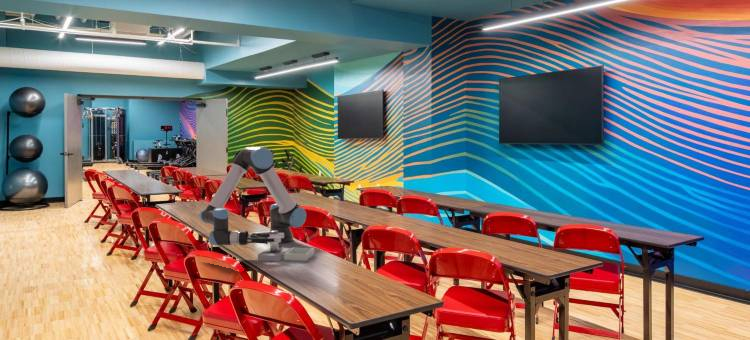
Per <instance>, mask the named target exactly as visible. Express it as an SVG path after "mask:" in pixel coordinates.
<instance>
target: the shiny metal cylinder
mask: <svg viewBox="0 0 750 340" xmlns="http://www.w3.org/2000/svg"><path fill="white" fill-rule="evenodd" d="M269 232H270V237H278V230H272V231H270V230H269ZM279 244H280V243H278V242H270V243H269V248H270V253H279V246H280V245H279Z"/></svg>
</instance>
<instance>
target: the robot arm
mask: <svg viewBox="0 0 750 340" xmlns="http://www.w3.org/2000/svg"><path fill="white" fill-rule="evenodd" d="M230 165H231V167H230V169H229V171H228V173H226V176H225V178H224V179H223V181H222V182H221V184H220V185H219V187H218V189H217V190H216V192H215V194H214V195H213V197H212V198H211V200H210V202H209V204H208V205H207V206H206V208H204V209H201V211H200V212H199V215H198V216H199V220H200V221H201V222H202V223H204V224H209V225H213V230H212V231H210V232H209V236H208V240H209V241H208V242H209V244H210V245H212V246H218V247H219V246H234V247H236V246H247V245H249V244H265V245H268V244H270V242H278V244H284V243H290V242H293V241H294V236H293V233H292V229H291V228H300V227H302V226H303V225H304V224H305V222H306V219H307V212H306V210H305V209H304V208H302V207H300V206H299V205H298V203H297V201H296V200H294V199H293V200H292V197H291V196H290V194H289V192H288V190H287V189H286V188H285V185H284V184H283V182H282V180H281V179H280V176H279V175H278V173H277V171H276V169H275V168H274V166H275V163H274V155H273V153H272V150H270V149H269V148H267V147H264V146H245V147H244V148H243V149H241V150H240V151H239V152H238V154H237V155H235V158H233V161H232V162H231V164H230ZM250 169H252V170H253V172H254V173H255V175H257V176H259V177H260V178H261V180H262V182H263V184H264V185H265V186H266V188H267V190H268V192H269V193H270V195H271V196H272V198H273V200H274V202H275V203H273V204H271V205H269V216H270V218H269V219H270V221H269V222H270V228H269V232H268V231H267V232H253V233H251V234H249V231H248V230H229V210H228V208H227V207H226V208H225V205H226V204H227V202H228V201H229V199H230V197H231V196H232V193H234V190H235V189H236V187H237V186H238V184H239V182H240V181H241V179H242V177H243V176H244V174H246V173H248V171H249V170H250ZM272 230H278V237H270V231H272Z"/></svg>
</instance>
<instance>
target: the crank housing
mask: <svg viewBox="0 0 750 340" xmlns="http://www.w3.org/2000/svg"><path fill="white" fill-rule="evenodd" d="M290 249H291V248H290V247H289V248H288V247H283V245H279V253H270V247H268V248H267V249H264V251H262V252H260V253H258V254H257V261H261V262H282V261H284V253H286V252H287V251H288V250H290Z"/></svg>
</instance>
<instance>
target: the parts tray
mask: <svg viewBox="0 0 750 340" xmlns="http://www.w3.org/2000/svg"><path fill="white" fill-rule="evenodd" d="M314 257H315V248H314V247H291V248H290V250H288V251H287V252H286V253H284V259H283V262H284V263H285V262H286V263H308V262H309V261H310V260H311V259H312V258H314Z"/></svg>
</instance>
